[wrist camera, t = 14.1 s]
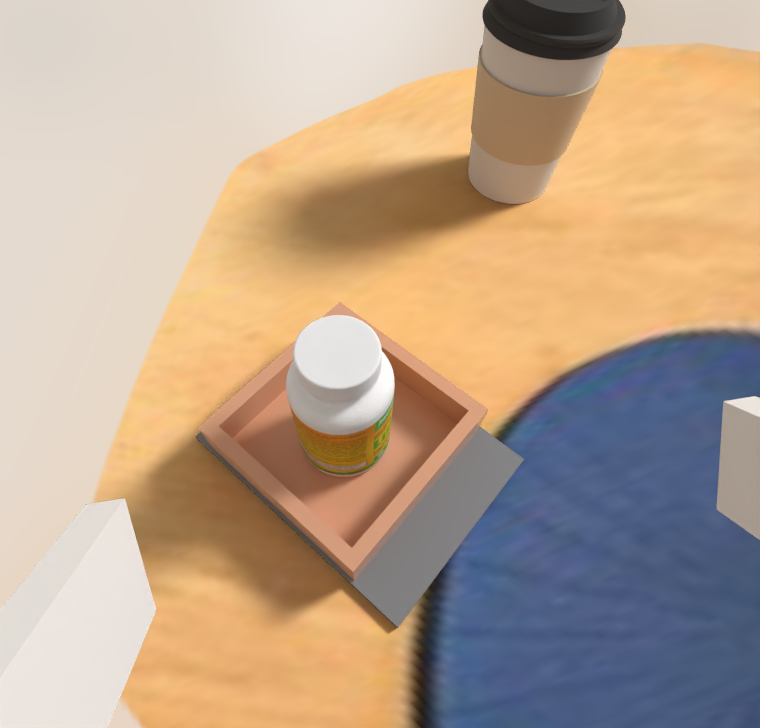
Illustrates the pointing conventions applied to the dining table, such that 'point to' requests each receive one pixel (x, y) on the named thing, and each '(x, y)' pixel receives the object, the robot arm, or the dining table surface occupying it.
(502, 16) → the coffee cup
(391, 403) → the supplement bottle
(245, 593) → the dining table surface
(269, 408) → the dish
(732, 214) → the dining table surface
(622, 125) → the dining table surface
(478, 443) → the mat
